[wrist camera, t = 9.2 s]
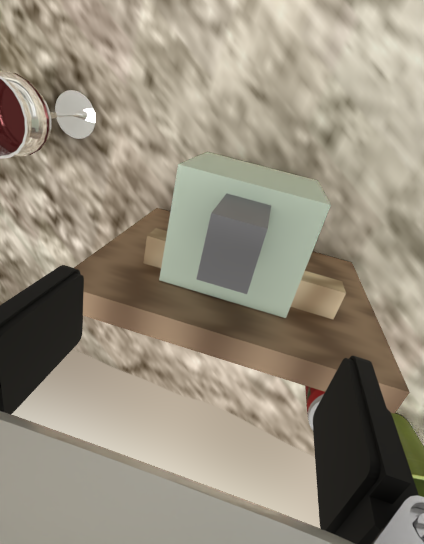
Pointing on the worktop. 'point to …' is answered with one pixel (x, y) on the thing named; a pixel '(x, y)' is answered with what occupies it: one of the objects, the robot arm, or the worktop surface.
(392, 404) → the wall board
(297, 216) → the mint green box
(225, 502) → the robot arm
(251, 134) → the worktop surface
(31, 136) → the wineglass
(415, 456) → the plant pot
